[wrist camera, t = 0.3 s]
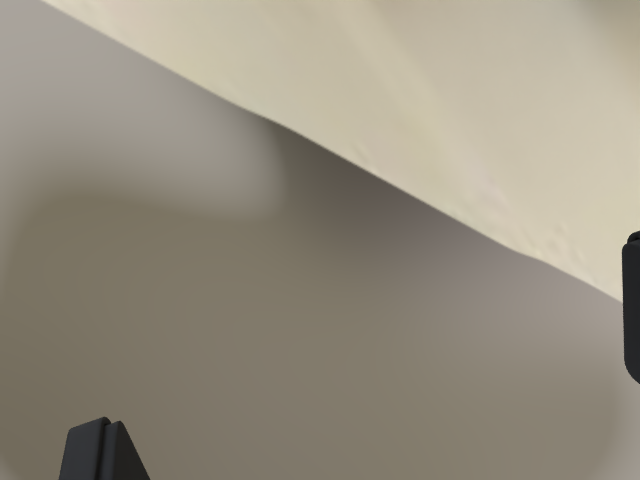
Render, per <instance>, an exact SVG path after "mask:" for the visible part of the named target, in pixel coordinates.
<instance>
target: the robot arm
mask: <svg viewBox="0 0 640 480" xmlns="http://www.w3.org/2000/svg"><path fill="white" fill-rule="evenodd" d="M622 279H623V320H624V321H623V322H624V361H625V365H626V368H627V370H628V372H629V374H630V375H631V376H632V378H633V379H634V380H635V381H637V382H638V383H639V384H640V231H637V232H634V233H632V234H631V235H630V236H629V238H628V240H627V244H625V245H624V247H623V249H622ZM59 480H150V478H149V476H148V474H147V472H146V470H145V468H144V466H143V463H142V462H141V459H140V457H139V455H138V453H137V451H136V449H135V447H134V445H133V443H132V440H131V438H130V436H129V434H128V432H127V430H126V428H125V426H124V424H123V423H122V422H121V421H117V422H115V423H112V424H111V422H110V420H109V419H108V418H107V417H102V418H99V419H96V420H93V421H91V422H87V423H85V424H82V425H79V426H76V427H73V428H71V429H70V430H69V432H68V435H67V440H66V445H65V451H64V455H63V460H62V465H61V470H60V476H59Z"/></svg>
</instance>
